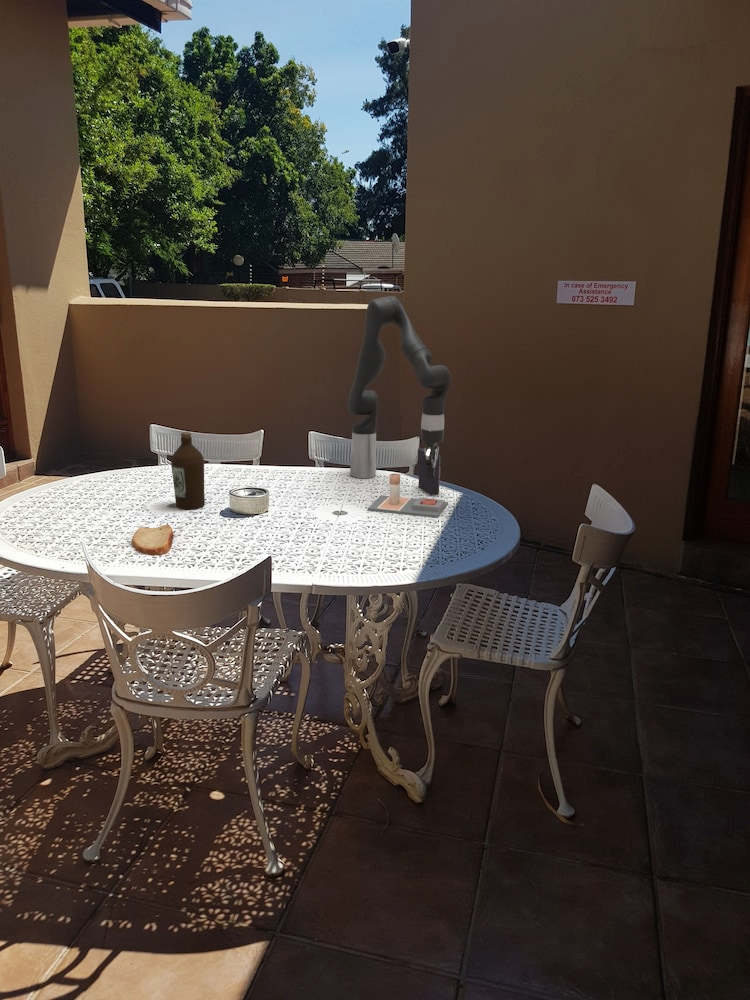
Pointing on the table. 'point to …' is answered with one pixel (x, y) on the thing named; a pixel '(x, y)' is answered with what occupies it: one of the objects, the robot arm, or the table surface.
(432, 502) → the button
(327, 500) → the table surface
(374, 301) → the robot arm
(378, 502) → the board
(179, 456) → the olive oil
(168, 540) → the bread slice
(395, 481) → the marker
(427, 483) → the dark grey upright block
